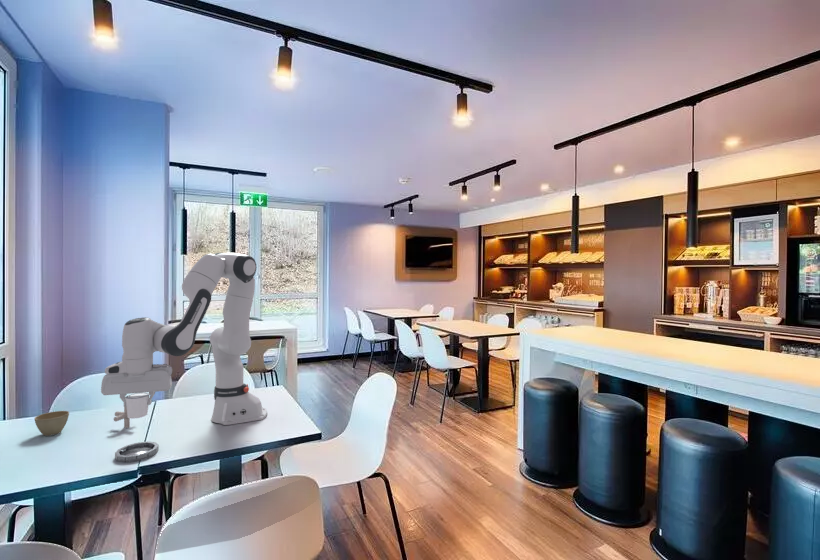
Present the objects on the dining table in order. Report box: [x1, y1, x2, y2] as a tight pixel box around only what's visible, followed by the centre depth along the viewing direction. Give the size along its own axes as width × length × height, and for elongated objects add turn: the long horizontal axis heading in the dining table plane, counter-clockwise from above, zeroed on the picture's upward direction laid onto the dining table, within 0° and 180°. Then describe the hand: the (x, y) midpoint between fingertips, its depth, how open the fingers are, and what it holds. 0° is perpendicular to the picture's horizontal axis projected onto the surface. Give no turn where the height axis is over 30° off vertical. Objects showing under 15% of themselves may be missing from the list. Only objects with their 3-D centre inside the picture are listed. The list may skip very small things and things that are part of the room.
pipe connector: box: [113, 406, 131, 429], centre depth 160 cm, size 10×10×10 cm
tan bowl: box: [34, 410, 70, 437], centre depth 153 cm, size 10×10×7 cm
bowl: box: [114, 441, 160, 463], centre depth 137 cm, size 12×12×2 cm
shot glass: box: [125, 392, 150, 420], centre depth 137 cm, size 7×7×7 cm
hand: (137, 405), depth 137 cm, fingers closed on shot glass, 5 cm apart
